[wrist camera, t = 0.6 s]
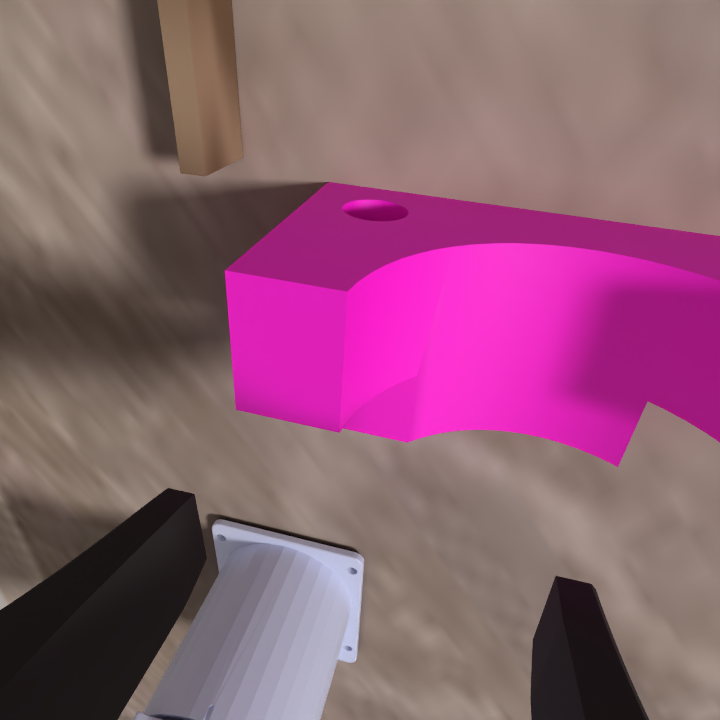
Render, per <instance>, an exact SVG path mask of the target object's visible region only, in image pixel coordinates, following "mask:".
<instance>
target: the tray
mask: <svg viewBox="0 0 720 720" xmlns="http://www.w3.org/2000/svg"><path fill="white" fill-rule="evenodd" d="M157 4H158V11H159V18H160V26H161V33H162V40H163V48H164V55H165V62H166V70H167V77H168V84H169V92H170V99H171V106H172V114H173V121H174V128H175V136H176V143H177V150H178V158H179V165H180V172H181V173H182V174H190V175H199V176H207V175H209V174H211V173H213V172H215V171H217V170H219V169H221V168H223V167H225V166H227V165H229V164H231V163H233V162H235V161H237V160H239V159H241V158H243V150H242V136H241V122H240V109H239V95H238V81H237V68H236V54H235V41H234V27H233V13H232V0H157Z"/></svg>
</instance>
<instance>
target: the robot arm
mask: <svg viewBox="0 0 720 720" xmlns="http://www.w3.org/2000/svg"><path fill="white" fill-rule="evenodd" d="M212 533H213V539H214V545H215V551H216V557H217V564H218V570H219V575H218V576H217V578H216V580H215V582H214V584H213V586H212V587H211V589H210V591H209V593H208V595H207V596H206V598H205V600H204V602H203V604H202V606H201V607H200V609H199V611H198V613H197V615H196V617H195V618H194V620H193V622H192V624H191V626H190V628H189V629H188V631H187V633H186V635H185V637H184V638H183V640H182V642H181V644H180V646H179V648H178V649H177V651H176V653H175V655H174V657H173V659H172V660H171V662H170V664H169V666H168V668H167V669H166V671H165V673H164V675H163V677H162V679H161V680H160V682H159V684H158V686H157V688H156V690H155V691H154V693H153V695H152V697H151V699H150V700H149V702H148V704H147V706H146V708H145V710H144V711H143V713H142V712H137V713H136V715H135V717H134V718H133V720H320V719H321V715H322V712H323V709H324V705H325V702H326V698H327V695H328V691H329V688H330V685H331V681H332V678H333V674H334V671H335V668H336V664H337V661H338V660H342V661H345V662H349V663H351V662H354V661H356V658H357V653H358V639H359V625H360V612H361V598H362V584H363V571H364V558H363V557H362V556H361V555H360V554H359V553H356V552H353V551H349V550H344V549H340V548H336V547H332V546H328V545H324V544H320V543H316V542H312V541H308V540H304V539H300V538H296V537H292V536H288V535H284V534H280V533H276V532H272V531H267V530H263V529H259V528H255V527H251V526H247V525H243V524H239V523H235V522H231V521H227V520H223V519H218V520H216V521H215V522H214V524H213V525H212ZM206 559H207V557H206V552H205V547H204V542H203V536H202V531H201V526H200V520H199V515H198V510H197V505H196V499H195V494H192V493H188V492H183V491H179V490H174V489H170V488H168V489H166V490H165V491H163V492H162V493H161V494H159V495H158V496H157V497H155V498H154V499H153V500H151V501H150V502H149V503H147V504H146V505H145V506H144V507H142V508H141V509H140V510H138V511H137V512H136V513H134V514H133V515H132V516H131V517H129V518H128V519H127V520H125V521H124V522H123V523H122V524H120V525H119V526H118V527H116V528H115V529H114V530H112V531H111V532H110V533H108V534H107V535H106V536H105V537H103V538H102V539H101V540H99V541H98V542H97V543H95V544H94V545H92V546H91V547H90V548H88V549H87V550H86V551H84V552H83V553H82V554H80V555H79V556H78V557H76V558H75V559H74V560H72V561H71V562H70V563H68V564H67V565H65V566H64V567H63V568H61V569H60V570H58V571H57V572H56V573H54V574H53V575H51V576H50V577H48V578H47V579H46V580H44V581H43V582H41V583H40V584H38V585H37V586H35V587H34V588H32V589H31V590H30V591H28V592H27V593H25V594H24V595H22V596H21V597H19V598H18V599H16V600H15V601H13V602H12V603H10V604H9V605H7V606H6V607H4V608H3V609H1V610H0V720H118V718H119V716H120V714H121V713H122V711H123V709H124V708H125V706H126V704H127V703H128V701H129V699H130V698H131V696H132V694H133V693H134V691H135V689H136V688H137V686H138V684H139V683H140V681H141V679H142V678H143V676H144V674H145V673H146V671H147V669H148V668H149V666H150V664H151V663H152V661H153V659H154V658H155V656H156V654H157V653H158V651H159V649H160V648H161V646H162V644H163V643H164V641H165V639H166V638H167V636H168V634H169V633H170V631H171V629H172V628H173V626H174V624H175V622H176V621H177V619H178V617H179V616H180V614H181V612H182V610H183V609H184V607H185V605H186V603H187V601H188V599H189V597H190V594H191V592H192V590H193V588H194V586H195V584H196V581H197V579H198V577H199V575H200V572H201V570H202V568H203V565H204V563H205V561H206ZM531 715H532V720H649V718H648V716H647V714H646V712H645V710H644V708H643V705H642V703H641V701H640V699H639V697H638V695H637V692H636V690H635V688H634V686H633V683H632V681H631V679H630V676H629V674H628V672H627V669H626V667H625V665H624V662H623V660H622V657H621V655H620V653H619V650H618V648H617V645H616V643H615V640H614V638H613V635H612V633H611V630H610V627H609V625H608V622H607V620H606V617H605V614H604V611H603V609H602V606H601V603H600V600H599V597H598V594H597V592H596V589H595V588H594V587H593V585H592V584H589V583H585V582H581V581H576V580H572V579H567V578H563V577H558V576H556V577H555V580H554V582H553V585H552V588H551V591H550V594H549V596H548V599H547V602H546V605H545V608H544V610H543V613H542V616H541V619H540V621H539V624H538V627H537V630H536V633H535V635H534V638H533V650H532V672H531Z"/></svg>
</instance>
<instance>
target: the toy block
mask: <svg viewBox="0 0 720 720" xmlns="http://www.w3.org/2000/svg"><path fill="white" fill-rule="evenodd" d="M225 279H226V292H227V304H228V317H229V329H230V342H231V354H232V367H233V379H234V392H235V404H236V410H240V411H244V412H249V413H253V414H258V415H262V416H267V417H271V418H276V419H280V420H285V421H289V422H294V423H298V424H303V425H307V426H312V427H316V428H321V429H325V430H330V431H334V432H340V431H341V430H342V428H344V429H349V430H353V431H358V432H362V433H367V434H371V435H376V436H380V437H385V438H389V439H394V440H398V441H403V442H410V441H413V440H416V439H419V438H422V437H426V436H430V435H434V434H438V433H444V432H451V431H460V430H499V431H509V432H516V433H523V434H528V435H533V436H538V437H542V438H546V439H549V440H553V441H557V442H560V443H563V444H566V445H569V446H572V447H575V448H577V449H580V450H582V451H585V452H587V453H590V454H592V455H595V456H597V457H599V458H601V459H603V460H605V461H607V462H609V463H611V464H613V465H615V466H617V467H618V465H619V463H620V461H621V459H622V457H623V454H624V452H625V450H626V448H627V445H628V443H629V441H630V439H631V437H632V434H633V432H634V430H635V428H636V425H637V423H638V421H639V419H640V417H641V414H642V412H643V410H644V408H645V405H646V403H647V401H649V402H651V403H653V404H655V405H657V406H659V407H661V408H663V409H665V410H667V411H669V412H671V413H673V414H675V415H676V416H678V417H680V418H682V419H684V420H686V421H687V422H689V423H691V424H692V425H694V426H696V427H697V428H699V429H700V430H702V431H704V432H705V433H707V434H708V435H710V436H711V437H713V438H714V439H716V440H717V441H719V442H720V236H714V235H707V234H700V233H693V232H685V231H678V230H671V229H664V228H657V227H649V226H642V225H635V224H628V223H620V222H613V221H606V220H599V219H592V218H584V217H577V216H570V215H563V214H556V213H548V212H541V211H534V210H527V209H520V208H512V207H505V206H498V205H491V204H483V203H476V202H469V201H462V200H455V199H447V198H440V197H433V196H426V195H419V194H411V193H404V192H397V191H390V190H382V189H375V188H368V187H361V186H354V185H346V184H339V183H332V182H328V183H326V184H325V185H324V186H323V187H322V188H321V189H319V190H318V191H317V192H316V193H315V194H314V195H312V196H311V197H310V198H309V199H308V200H307V201H305V202H304V203H303V204H302V205H301V206H300V207H298V208H297V209H296V210H295V211H294V212H293V213H291V214H290V215H289V216H288V217H287V218H285V219H284V220H283V221H282V222H281V223H280V224H278V225H277V226H276V227H275V228H274V229H273V230H271V231H270V232H269V233H268V234H267V235H266V236H264V237H263V238H262V239H261V240H260V241H259V242H257V243H256V244H255V245H254V246H253V247H252V248H250V249H249V250H248V251H247V252H246V253H244V254H243V255H242V256H241V257H240V258H239V259H237V260H236V261H235V262H234V263H233V264H232V265H230V266H229V267H228V268H227V269H226V270H225Z"/></svg>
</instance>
